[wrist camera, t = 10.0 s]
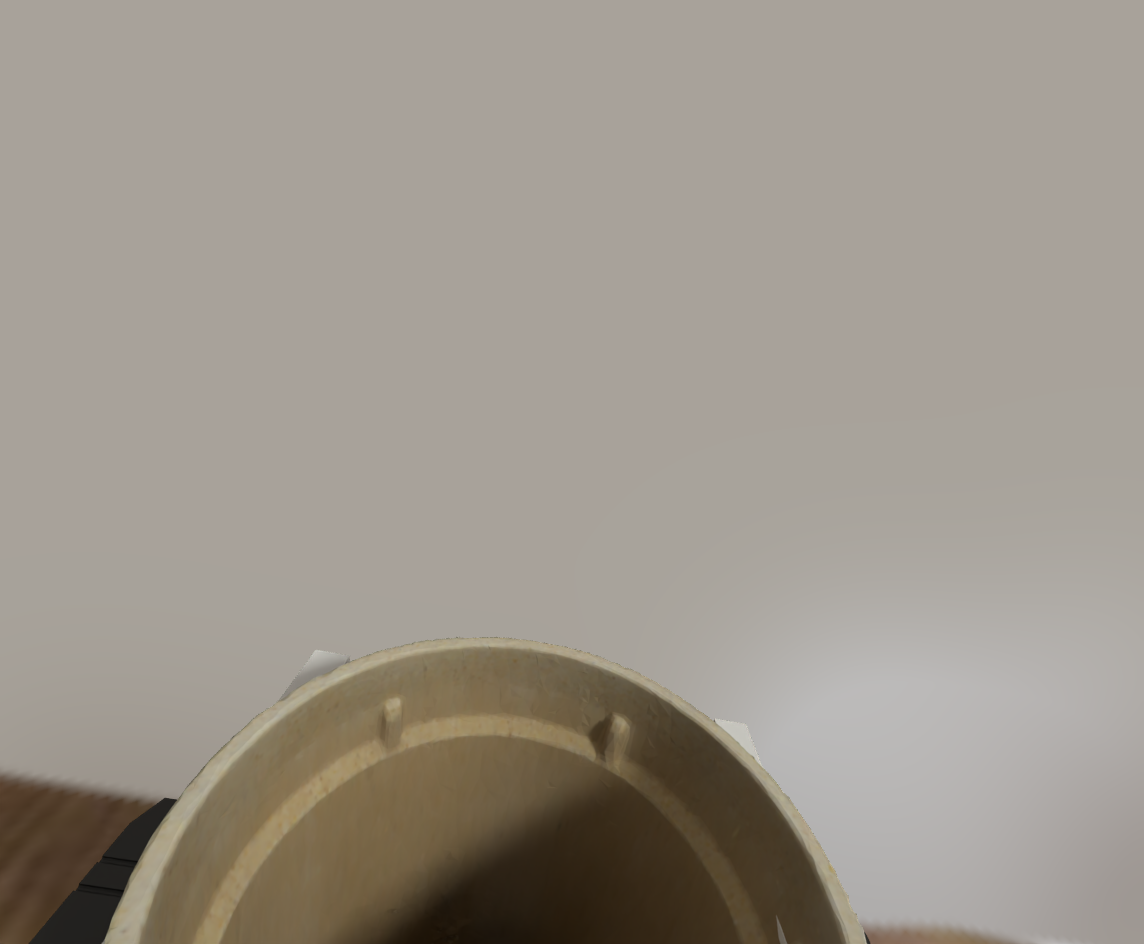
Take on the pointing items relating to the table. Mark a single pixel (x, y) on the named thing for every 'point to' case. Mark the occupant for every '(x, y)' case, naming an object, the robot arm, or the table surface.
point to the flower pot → (483, 816)
